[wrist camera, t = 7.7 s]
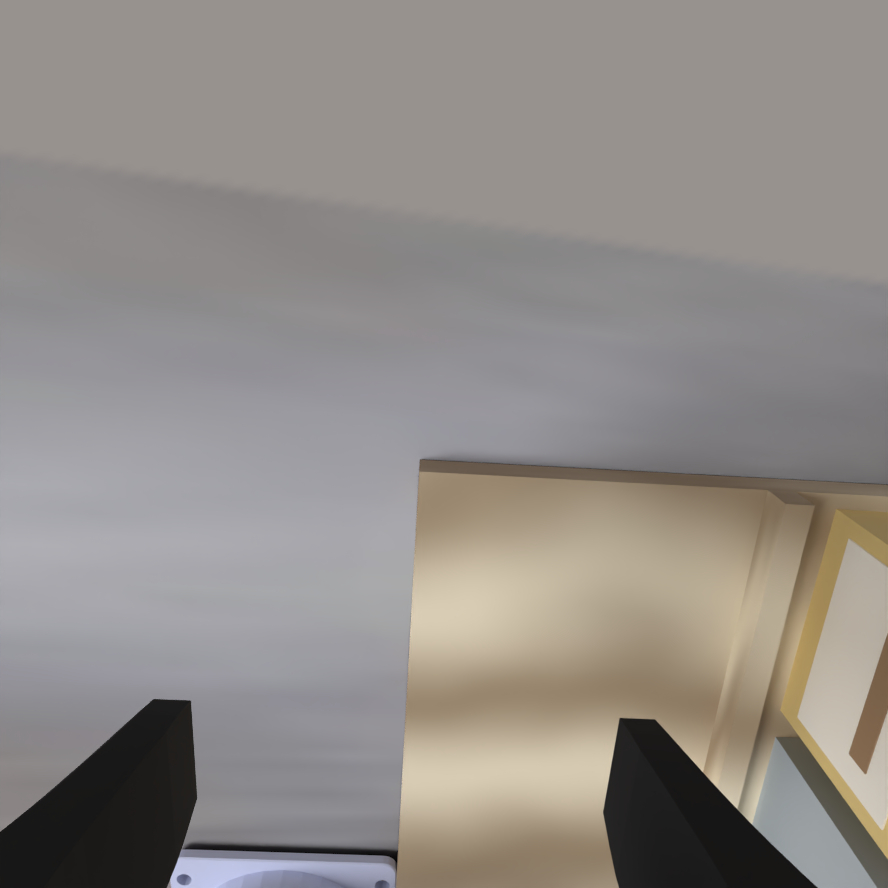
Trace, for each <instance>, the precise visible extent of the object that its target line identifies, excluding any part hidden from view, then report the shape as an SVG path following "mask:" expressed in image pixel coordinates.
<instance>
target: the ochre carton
mask: <svg viewBox="0 0 888 888" xmlns="http://www.w3.org/2000/svg"><path fill="white" fill-rule="evenodd" d="M781 712H782V713H783V715H784V716H785V717H786V719H787V720H788V722H789V723H790V724H791V726H792V727H793V729H794V730H795V731H796V733H797V734H798V735H799V737H800V738H801V740H802V741H803V742H804V744H805V745H806V747H807V748H808V749H809V751H810V752H811V754H812V755H813V756H814V758H815V759H816V760H817V762H818V763H819V765H820V766H821V767H822V769H823V770H824V772H825V773H826V774H827V776H828V777H829V779H830V780H831V781H832V783H833V784H834V785H835V787H836V788H837V790H838V791H839V792H840V794H841V795H842V797H843V798H844V799H845V801H846V802H847V804H848V805H849V806H850V808H851V809H852V810H853V812H854V813H855V815H856V816H857V817H858V819H859V820H860V822H861V823H862V824H863V826H864V827H865V829H866V830H867V831H868V833H869V834H870V835H871V837H872V838H873V840H874V841H875V842H876V844H877V845H878V847H879V848H880V849H881V851H882V852H883V854H884V855H885V856H886V858H887V859H888V512H877V511H861V510H845V509H836V512H835V515H834V519H833V522H832V526H831V530H830V533H829V537H828V540H827V544H826V548H825V551H824V555H823V558H822V562H821V566H820V569H819V573H818V576H817V580H816V584H815V587H814V591H813V594H812V598H811V602H810V605H809V609H808V612H807V616H806V620H805V623H804V627H803V630H802V634H801V638H800V641H799V645H798V648H797V652H796V656H795V659H794V663H793V666H792V670H791V674H790V677H789V681H788V684H787V688H786V692H785V695H784V699H783V702H782V706H781Z"/></svg>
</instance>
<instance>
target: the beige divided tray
mask: <svg viewBox="0 0 888 888" xmlns="http://www.w3.org/2000/svg"><path fill="white" fill-rule="evenodd" d="M836 509H845V510H861V511H877V512H888V485H881V484H862V483H844V482H825V481H807V480H788V479H770V478H751V477H733V476H714V475H695V474H677V473H658V472H640V471H621V470H603V469H584V468H566V467H547V466H529V465H510V464H492V463H473V462H455V461H436V460H420V467H419V485H418V503H417V521H416V539H415V557H414V575H413V593H412V611H411V629H410V647H409V665H408V683H407V701H406V719H405V737H404V755H403V773H402V791H401V809H400V827H399V845H398V863H397V881H396V888H619V886H618V883H617V879H616V875H615V871H614V866H613V861H612V856H611V852H610V847H609V841H608V836H607V831H606V826H605V820H604V815H603V809H604V804H605V798H606V792H607V787H608V781H609V775H610V769H611V764H612V758H613V752H614V747H615V741H616V735H617V730H618V724H619V718H635V719H655V720H656V721H657V722H658V723H659V724H660V725H661V726H662V727H663V728H664V730H665V731H666V732H667V733H668V734H669V735H670V736H671V737H672V738H673V740H674V741H675V742H676V743H677V744H678V745H679V746H680V747H681V748H682V750H683V751H684V752H685V753H686V754H687V755H688V756H689V757H690V759H691V760H692V761H693V762H694V763H695V764H696V765H697V766H698V767H699V768H700V770H701V771H702V772H703V773H704V774H705V775H706V776H707V777H708V778H709V779H710V781H711V782H712V783H713V784H714V785H715V786H716V787H717V788H718V789H719V790H720V791H721V792H722V794H723V795H724V796H725V797H726V798H727V799H728V800H729V801H730V802H731V803H732V804H733V805H734V806H735V807H736V808H737V809H738V810H739V811H740V813H741V814H742V815H743V816H744V817H745V818H746V819H747V820H748V821H749V822H750V823H751V824H752V823H753V819H754V816H755V812H756V808H757V804H758V801H759V797H760V793H761V789H762V786H763V782H764V778H765V774H766V771H767V767H768V763H769V759H770V756H771V752H772V748H773V744H774V741H775V737H794V738H800V737H799V735H798V734H797V733H796V731H795V730H794V729H793V727H792V726H791V724H790V723H789V722H788V720H787V719H786V717H785V716H784V715H783V713H782V712H781V706H782V702H783V699H784V695H785V692H786V688H787V684H788V681H789V677H790V674H791V670H792V666H793V663H794V659H795V656H796V652H797V648H798V645H799V641H800V638H801V634H802V630H803V627H804V623H805V620H806V616H807V612H808V609H809V605H810V602H811V598H812V594H813V591H814V587H815V584H816V580H817V576H818V573H819V569H820V566H821V562H822V558H823V555H824V551H825V548H826V544H827V540H828V537H829V533H830V530H831V526H832V522H833V519H834V515H835V512H836Z"/></svg>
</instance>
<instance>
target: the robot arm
mask: <svg viewBox="0 0 888 888" xmlns="http://www.w3.org/2000/svg"><path fill="white" fill-rule="evenodd" d="M196 800H197V789H196V774H195V758H194V743H193V727H192V712H191V701H186V700H161V699H153V700H152V701H151V702H150V703H149V704H148V705H146V706H145V707H144V708H143V709H142V710H141V711H140V712H138V713H137V714H136V715H135V716H134V717H133V718H132V719H131V720H130V721H128V722H127V723H126V724H125V725H124V726H123V727H122V728H121V729H120V730H118V731H117V732H116V733H115V734H114V735H113V736H112V737H111V738H110V739H109V740H107V741H106V742H105V743H104V744H103V745H102V746H101V747H100V748H99V749H97V750H96V751H95V752H94V753H93V754H92V755H91V756H90V757H89V758H87V759H86V760H85V761H84V762H83V763H82V764H81V765H80V766H78V767H77V768H76V769H75V770H74V771H73V772H71V773H70V774H69V775H68V776H67V777H66V778H65V779H63V780H62V781H61V782H60V783H59V784H58V785H57V786H55V787H54V788H53V789H52V790H51V791H50V792H48V793H47V794H46V795H45V796H44V797H43V798H41V799H40V800H39V801H38V802H37V803H35V804H34V805H33V806H32V807H31V808H29V809H28V810H27V811H26V812H24V813H23V814H22V815H21V816H19V817H18V818H17V819H16V820H14V821H13V822H12V823H11V824H10V825H8V826H7V827H6V828H5V829H3V830H2V831H1V832H0V888H167V885H168V883H169V881H170V880H171V888H396V881H397V863H396V862H395V860H394V859H392V858H390V857H389V856H379V855H348V854H317V853H286V852H254V851H223V850H192V849H185V850H181V849H182V846H183V842H184V839H185V836H186V833H187V830H188V827H189V823H190V820H191V817H192V813H193V810H194V807H195V803H196ZM603 815H604V820H605V826H606V831H607V836H608V841H609V847H610V852H611V856H612V861H613V866H614V871H615V875H616V879H617V883H618V886H619V888H818V887H817V886H815V885H814V884H813V883H812V882H811V881H810V880H809V879H808V878H807V877H806V876H805V875H804V874H802V873H801V872H800V871H799V870H798V869H797V868H796V867H795V866H794V865H793V864H792V863H791V862H790V861H789V860H788V859H787V858H786V857H785V856H784V855H783V854H781V853H780V852H779V851H778V850H777V849H776V848H775V847H774V846H773V845H772V844H771V843H770V842H769V841H768V840H767V839H766V838H765V837H764V836H763V835H762V834H761V833H760V832H759V831H758V830H757V829H756V828H755V827H754V826H753V825H752V824H751V823H750V822H749V821H748V820H747V819H746V818H745V817H744V816H743V815H742V814H741V813H740V811H739V810H738V809H737V808H736V807H735V806H734V805H733V804H732V803H731V802H730V801H729V800H728V799H727V798H726V797H725V796H724V795H723V794H722V792H721V791H720V790H719V789H718V788H717V787H716V786H715V785H714V784H713V783H712V782H711V781H710V779H709V778H708V777H707V776H706V775H705V774H704V773H703V772H702V771H701V770H700V768H699V767H698V766H697V765H696V764H695V763H694V762H693V761H692V760H691V759H690V757H689V756H688V755H687V754H686V753H685V752H684V751H683V750H682V748H681V747H680V746H679V745H678V744H677V743H676V742H675V741H674V740H673V738H672V737H671V736H670V735H669V734H668V733H667V732H666V731H665V730H664V728H663V727H662V726H661V725H660V724H659V723H658V722H657V721H656V720H655V719H635V718H619V724H618V730H617V735H616V741H615V747H614V752H613V758H612V764H611V769H610V775H609V781H608V787H607V792H606V798H605V804H604V809H603ZM381 880H384V881H381Z"/></svg>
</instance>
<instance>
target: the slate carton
mask: <svg viewBox="0 0 888 888" xmlns="http://www.w3.org/2000/svg"><path fill="white" fill-rule="evenodd" d="M752 825H753V826H754V827H755V828H756V829H757V830H758V831H759V832H760V833H761V834H762V835H763V836H764V837H765V838H766V839H767V840H768V841H769V842H770V843H771V844H772V845H773V846H774V847H775V848H776V849H777V850H778V851H779V852H780V853H781V854H783V855H784V856H785V857H786V858H787V859H788V860H789V861H790V862H791V863H792V864H793V865H794V866H795V867H796V868H797V869H798V870H799V871H800V872H801V873H802V874H804V875H805V876H806V877H807V878H808V879H809V880H810V881H811V882H812V883H813V884H814V885H815V886H817V887H818V888H888V859H887V858H886V856H885V855H884V854H883V852H882V851H881V849H880V848H879V847H878V845H877V844H876V842H875V841H874V840H873V838H872V837H871V835H870V834H869V833H868V831H867V830H866V829H865V827H864V826H863V824H862V823H861V822H860V820H859V819H858V817H857V816H856V815H855V813H854V812H853V810H852V809H851V808H850V806H849V805H848V804H847V802H846V801H845V799H844V798H843V797H842V795H841V794H840V792H839V791H838V790H837V788H836V787H835V785H834V784H833V783H832V781H831V780H830V779H829V777H828V776H827V774H826V773H825V772H824V770H823V769H822V767H821V766H820V765H819V763H818V762H817V760H816V759H815V758H814V756H813V755H812V754H811V752H810V751H809V749H808V748H807V747H806V745H805V744H804V742H803V741H802V740H801V738H794V737H775V741H774V744H773V748H772V752H771V756H770V759H769V763H768V767H767V771H766V774H765V778H764V782H763V786H762V789H761V793H760V797H759V801H758V804H757V808H756V812H755V816H754V819H753V823H752Z"/></svg>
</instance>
